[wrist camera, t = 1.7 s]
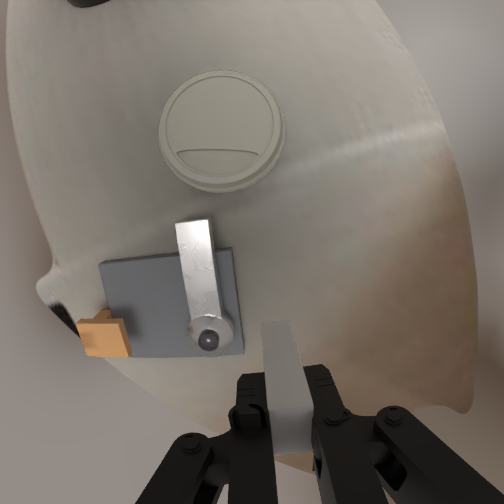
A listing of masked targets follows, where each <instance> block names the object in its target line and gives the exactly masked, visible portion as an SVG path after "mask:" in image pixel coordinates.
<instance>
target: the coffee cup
mask: <svg viewBox="0 0 504 504" xmlns="http://www.w3.org/2000/svg"><path fill="white" fill-rule="evenodd" d="M158 139H159V146H160V150H161V153H162V155H163V158H164V160H165V162H166V163H167V165H168V166H169V168H170V169H171V170H172V172H173V173H174V174H175V175H176V176H177V177H178V178H179V179H181V180H182V181H183V182H185V183H186V184H188V185H190V186H192V187H194V188H196V189H199V190H202V191H206V192H212V193H228V192H234V191H238V190H242V189H244V188H247V187H249V186H251V185H253V184H255V183H256V182H258V181H259V180H261V179H262V178H263V177H265V176H266V175H267V174H268V173H269V172H270V171H271V170H272V168H273V167H274V166H275V164H276V163H277V161H278V159H279V158H280V156H281V153H282V151H283V148H284V144H285V139H286V122H285V117H284V114H283V111H282V108H281V106H280V104H279V102H278V100H277V98H276V97H275V95H274V94H273V93H272V92H271V91H270V90H269V89H268V88H267V87H266V86H265V85H264V84H262V83H261V82H260V81H258V80H256V79H254V78H252V77H250V76H248V75H246V74H243V73H240V72H236V71H229V70H216V71H210V72H206V73H202V74H199V75H197V76H195V77H193V78H191V79H189V80H187V81H186V82H184V83H183V84H182V85H181V86H179V87H178V88H177V89H176V90H175V91H174V93H173V94H172V95H171V96H170V98H169V99H168V101H167V102H166V104H165V106H164V108H163V111H162V114H161V118H160V122H159V128H158Z"/></svg>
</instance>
